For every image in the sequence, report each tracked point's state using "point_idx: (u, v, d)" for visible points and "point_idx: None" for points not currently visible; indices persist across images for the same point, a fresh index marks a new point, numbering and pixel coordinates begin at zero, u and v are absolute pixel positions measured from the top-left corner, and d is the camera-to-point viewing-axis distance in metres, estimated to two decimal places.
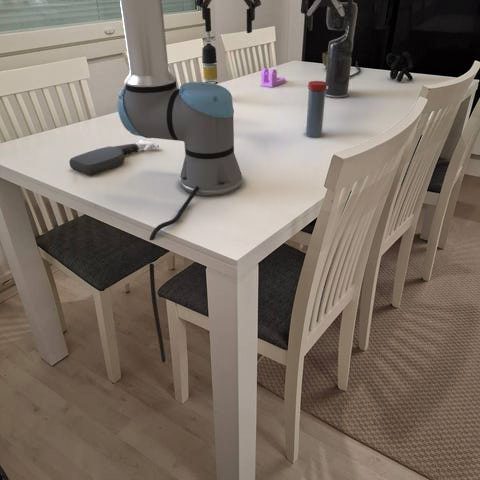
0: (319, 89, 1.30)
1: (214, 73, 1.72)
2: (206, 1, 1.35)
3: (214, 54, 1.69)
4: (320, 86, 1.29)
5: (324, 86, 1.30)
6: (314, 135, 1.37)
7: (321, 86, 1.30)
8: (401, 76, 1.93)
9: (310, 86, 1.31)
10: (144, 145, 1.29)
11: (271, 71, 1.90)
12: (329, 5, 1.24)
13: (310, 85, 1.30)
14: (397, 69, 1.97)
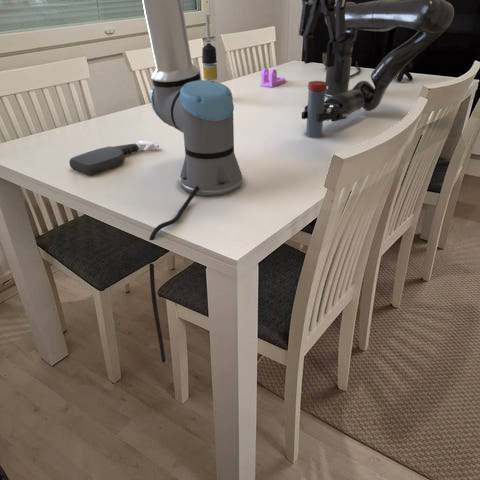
0: (319, 89, 1.30)
1: (214, 73, 1.72)
2: None
3: (214, 54, 1.69)
4: (320, 86, 1.29)
5: (324, 86, 1.30)
6: (314, 135, 1.37)
7: (321, 86, 1.30)
8: (401, 76, 1.93)
9: (310, 86, 1.31)
10: (144, 145, 1.29)
11: (271, 71, 1.90)
12: None
13: (310, 85, 1.30)
14: None
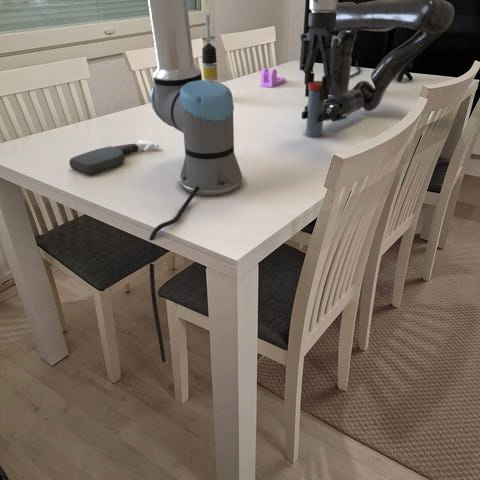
0: (319, 89, 1.30)
1: (214, 73, 1.72)
2: None
3: (214, 54, 1.69)
4: (320, 86, 1.29)
5: None
6: (314, 135, 1.37)
7: None
8: (401, 76, 1.93)
9: (310, 86, 1.31)
10: (144, 145, 1.29)
11: (271, 71, 1.90)
12: None
13: (310, 85, 1.30)
14: None
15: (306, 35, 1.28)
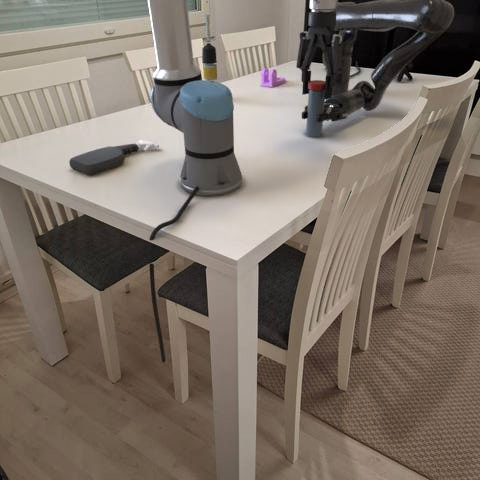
0: None
1: (214, 73, 1.72)
2: None
3: (214, 54, 1.69)
4: None
5: None
6: (314, 135, 1.37)
7: None
8: (401, 76, 1.93)
9: (323, 86, 1.30)
10: (144, 145, 1.29)
11: (271, 71, 1.90)
12: None
13: (323, 85, 1.30)
14: None
15: (305, 34, 1.28)
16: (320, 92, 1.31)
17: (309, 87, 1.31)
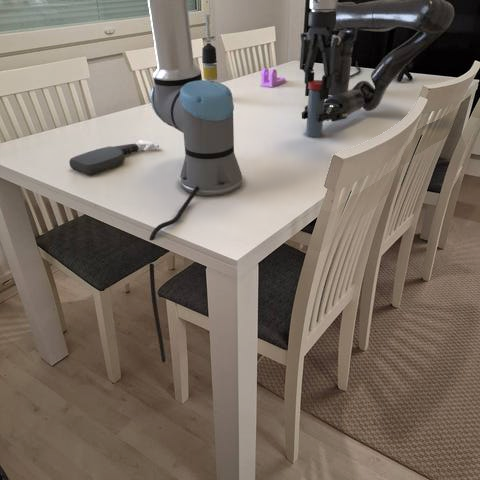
0: None
1: (214, 73, 1.72)
2: None
3: (214, 54, 1.69)
4: None
5: None
6: (314, 135, 1.37)
7: None
8: (401, 76, 1.93)
9: None
10: (144, 145, 1.29)
11: (271, 71, 1.90)
12: None
13: None
14: None
15: (306, 34, 1.28)
16: (320, 92, 1.31)
17: (309, 87, 1.31)
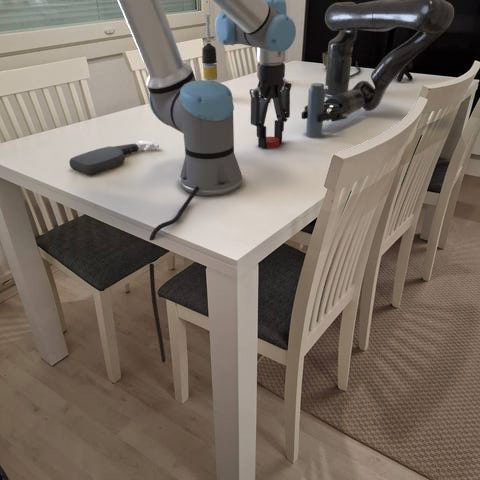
0: None
1: (214, 73, 1.72)
2: None
3: (214, 54, 1.69)
4: None
5: None
6: (314, 135, 1.37)
7: None
8: (401, 76, 1.93)
9: None
10: (144, 145, 1.29)
11: None
12: None
13: None
14: None
15: (257, 90, 1.21)
16: (320, 92, 1.31)
17: (273, 146, 1.30)
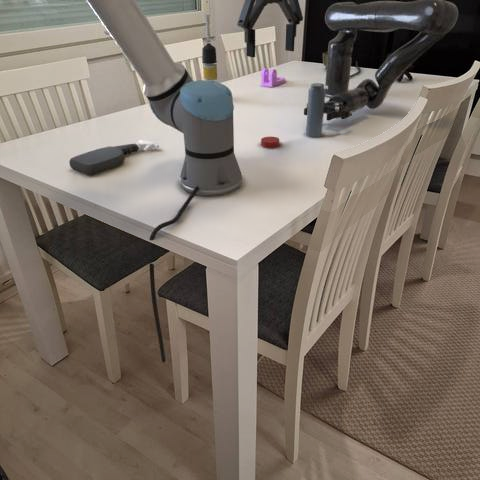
0: None
1: (214, 73, 1.72)
2: None
3: (214, 54, 1.69)
4: None
5: None
6: (314, 135, 1.37)
7: None
8: (401, 76, 1.93)
9: None
10: (144, 145, 1.29)
11: (271, 71, 1.90)
12: (325, 112, 1.42)
13: None
14: None
15: None
16: (320, 92, 1.31)
17: (273, 146, 1.30)
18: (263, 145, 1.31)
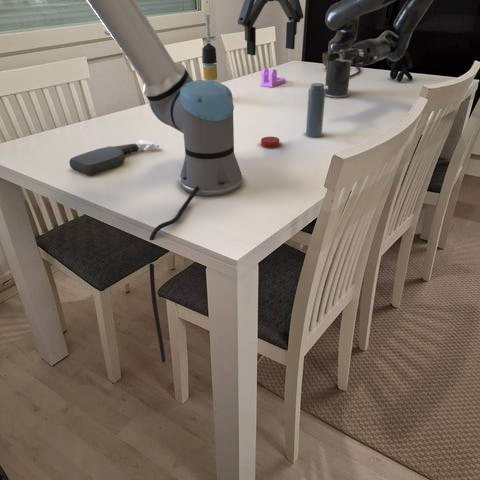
0: None
1: (214, 73, 1.72)
2: None
3: (214, 54, 1.69)
4: None
5: None
6: (314, 135, 1.37)
7: None
8: (401, 76, 1.93)
9: None
10: (144, 145, 1.29)
11: (271, 71, 1.90)
12: (348, 59, 1.41)
13: None
14: (397, 69, 1.97)
15: None
16: (320, 92, 1.31)
17: (273, 146, 1.30)
18: (263, 145, 1.31)
